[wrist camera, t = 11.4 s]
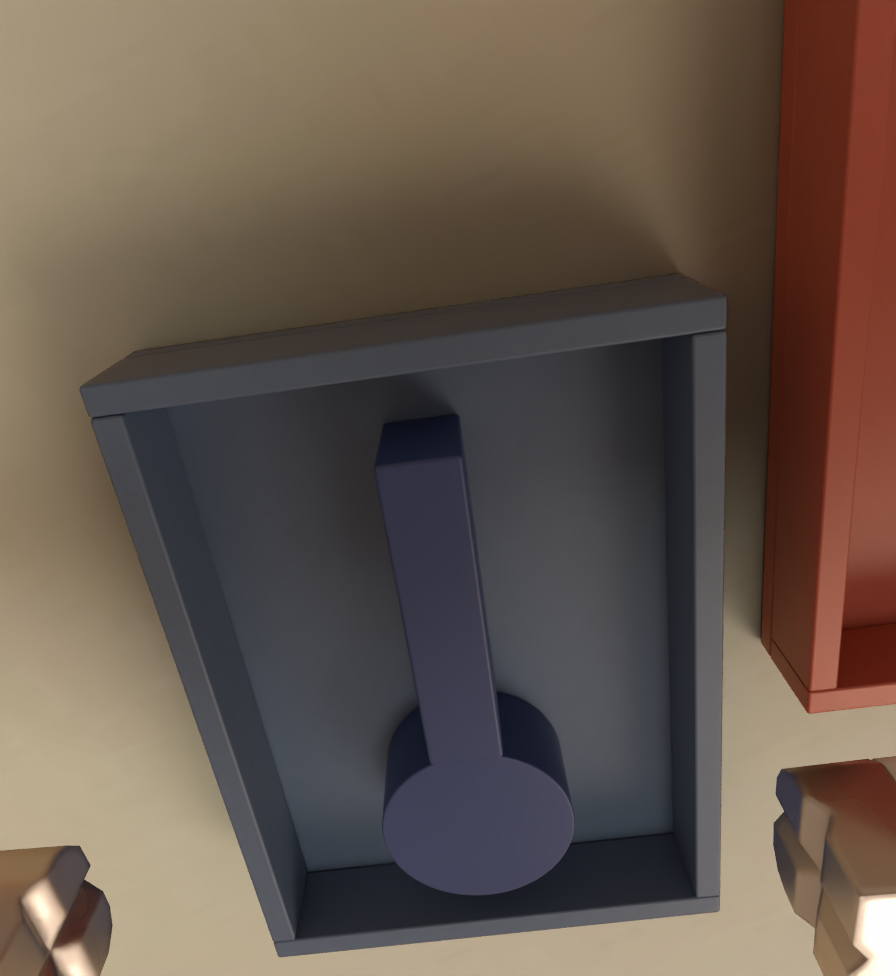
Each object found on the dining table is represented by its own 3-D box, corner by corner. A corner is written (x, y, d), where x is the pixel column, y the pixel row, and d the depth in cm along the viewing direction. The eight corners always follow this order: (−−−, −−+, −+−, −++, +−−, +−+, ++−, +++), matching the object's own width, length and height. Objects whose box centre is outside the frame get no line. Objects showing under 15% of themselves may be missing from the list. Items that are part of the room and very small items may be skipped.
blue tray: (132, 350, 15) (76, 386, 13) (681, 272, 15) (728, 294, 12) (295, 869, 21) (278, 958, 19) (688, 826, 21) (720, 913, 19)
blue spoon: (315, 431, 15) (294, 476, 13) (527, 403, 15) (542, 444, 13) (402, 829, 20) (398, 912, 18) (566, 811, 20) (582, 893, 18)
